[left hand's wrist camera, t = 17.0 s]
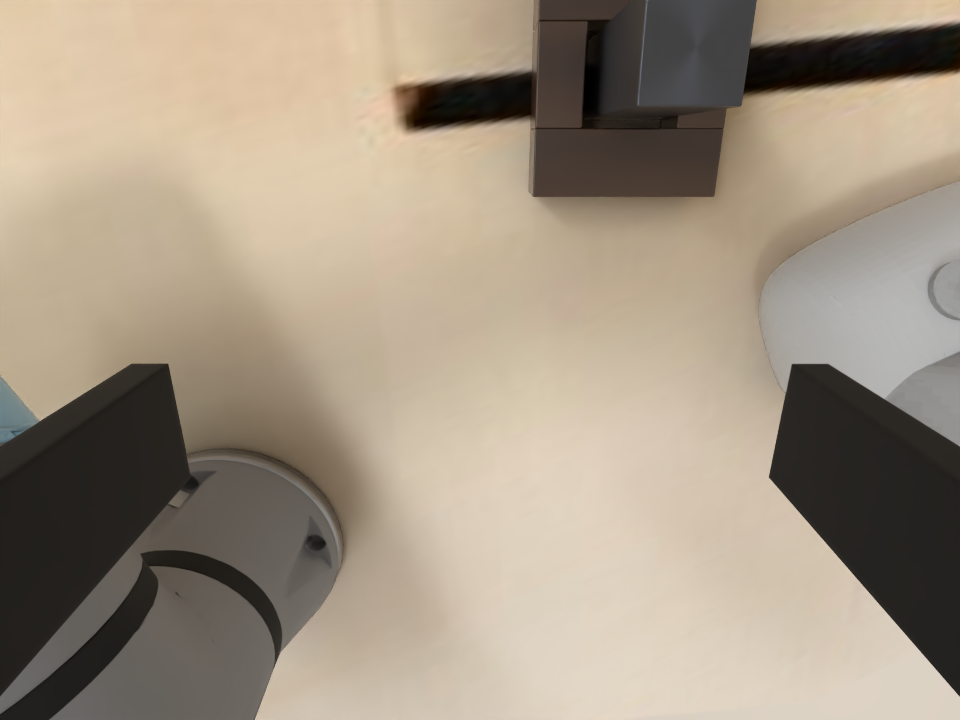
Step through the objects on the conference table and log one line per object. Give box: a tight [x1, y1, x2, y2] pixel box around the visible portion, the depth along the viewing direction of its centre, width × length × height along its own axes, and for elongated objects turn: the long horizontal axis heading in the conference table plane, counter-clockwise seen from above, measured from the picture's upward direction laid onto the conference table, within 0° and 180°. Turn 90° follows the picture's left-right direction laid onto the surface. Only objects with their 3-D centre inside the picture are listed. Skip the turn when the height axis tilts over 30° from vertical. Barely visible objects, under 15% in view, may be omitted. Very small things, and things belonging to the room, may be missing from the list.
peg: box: [584, 0, 757, 120], centre depth 27 cm, size 4×4×12 cm
